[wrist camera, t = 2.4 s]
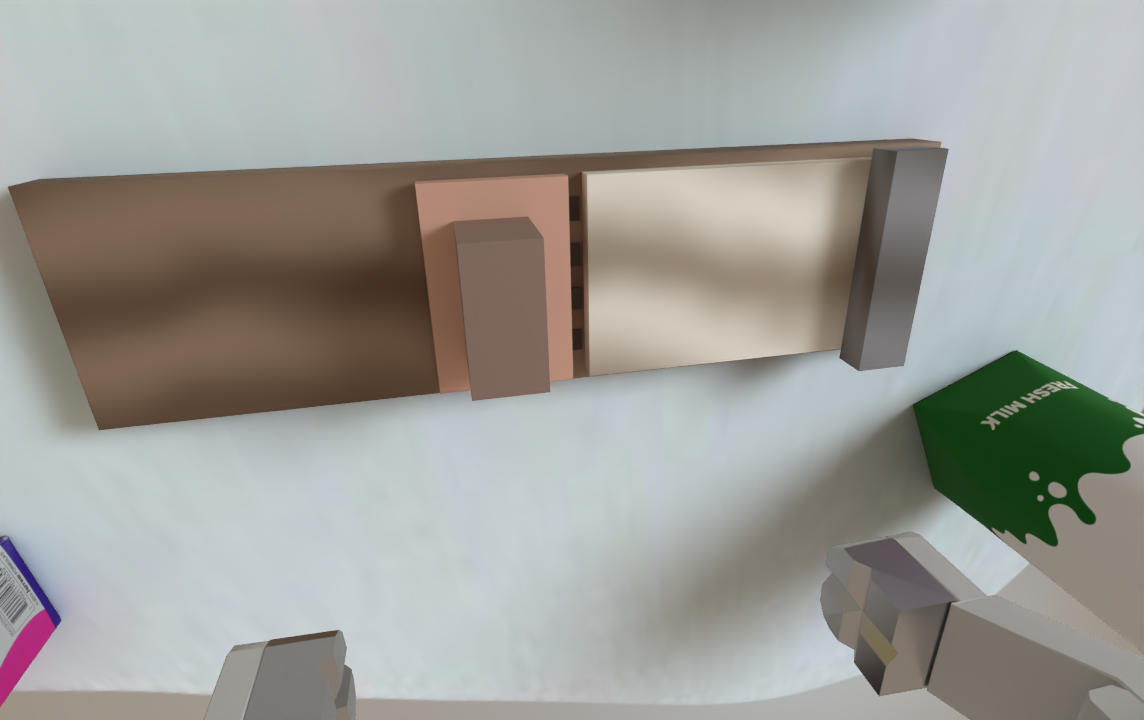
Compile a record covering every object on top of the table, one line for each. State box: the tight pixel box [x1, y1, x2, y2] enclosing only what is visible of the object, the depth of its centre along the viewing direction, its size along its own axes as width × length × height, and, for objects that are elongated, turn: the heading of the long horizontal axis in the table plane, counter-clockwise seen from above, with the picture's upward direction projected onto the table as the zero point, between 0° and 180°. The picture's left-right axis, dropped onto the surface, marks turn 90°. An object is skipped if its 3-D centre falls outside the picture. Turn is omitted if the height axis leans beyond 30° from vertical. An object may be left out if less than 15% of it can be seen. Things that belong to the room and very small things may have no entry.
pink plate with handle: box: [415, 174, 573, 401], centre depth 25 cm, size 9×6×5 cm, turn 1°
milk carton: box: [914, 350, 1144, 654], centre depth 30 cm, size 9×9×20 cm
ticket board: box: [8, 139, 948, 430], centre depth 28 cm, size 10×38×5 cm, turn 91°
